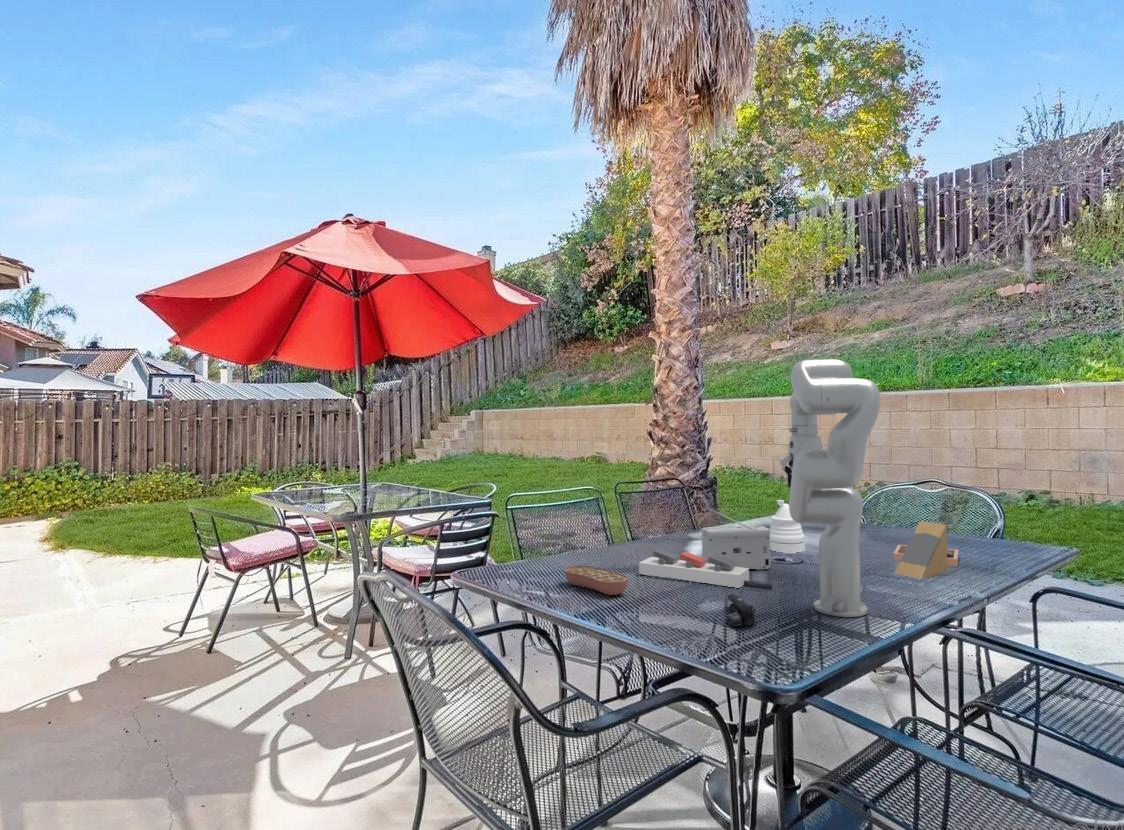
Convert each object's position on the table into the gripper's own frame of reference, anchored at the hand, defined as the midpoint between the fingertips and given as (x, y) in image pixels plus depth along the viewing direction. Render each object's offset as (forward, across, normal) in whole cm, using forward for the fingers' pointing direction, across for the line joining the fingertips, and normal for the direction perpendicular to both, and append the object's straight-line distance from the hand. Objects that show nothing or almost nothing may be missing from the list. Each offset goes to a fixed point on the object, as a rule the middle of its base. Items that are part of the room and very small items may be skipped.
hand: (805, 486), depth 197 cm
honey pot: (+27, +16, +33) cm, 45 cm away
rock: (+28, +49, +3) cm, 57 cm away
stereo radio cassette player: (+28, -15, +15) cm, 35 cm away
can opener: (+28, -41, -27) cm, 56 cm away
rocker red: (+22, -34, +10) cm, 42 cm away
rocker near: (+22, -28, +3) cm, 36 cm away
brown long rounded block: (+28, -66, +9) cm, 72 cm away
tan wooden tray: (+27, +49, +3) cm, 56 cm away
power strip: (+27, -32, +6) cm, 42 cm away
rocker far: (+22, -40, +16) cm, 49 cm away
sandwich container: (+28, +33, -10) cm, 44 cm away
